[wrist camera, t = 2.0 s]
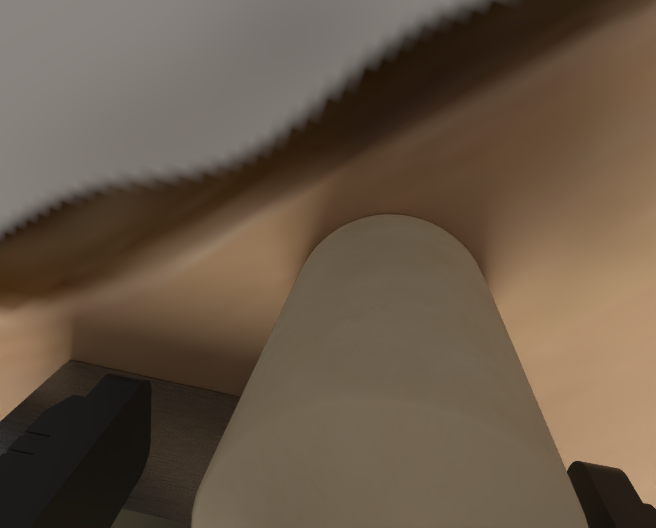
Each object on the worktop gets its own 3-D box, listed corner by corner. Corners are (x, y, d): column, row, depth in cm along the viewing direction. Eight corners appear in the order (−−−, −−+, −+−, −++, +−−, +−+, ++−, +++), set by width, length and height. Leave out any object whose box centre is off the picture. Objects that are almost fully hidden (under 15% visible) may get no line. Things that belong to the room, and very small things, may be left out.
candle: (332, 182, 14) (204, 411, 5) (520, 252, 14) (769, 618, 5) (274, 344, 16) (107, 728, 7) (438, 405, 16) (497, 869, 7)
